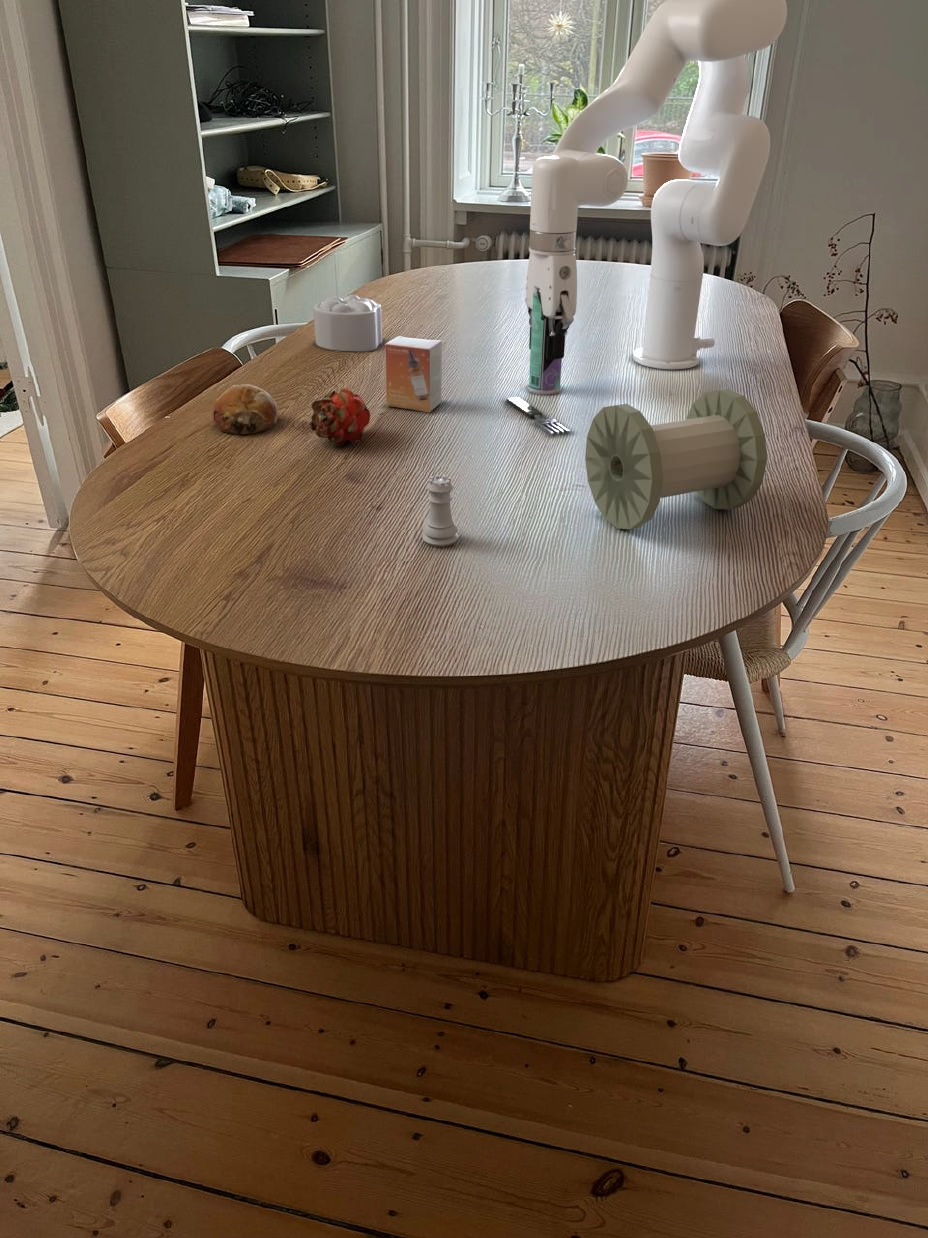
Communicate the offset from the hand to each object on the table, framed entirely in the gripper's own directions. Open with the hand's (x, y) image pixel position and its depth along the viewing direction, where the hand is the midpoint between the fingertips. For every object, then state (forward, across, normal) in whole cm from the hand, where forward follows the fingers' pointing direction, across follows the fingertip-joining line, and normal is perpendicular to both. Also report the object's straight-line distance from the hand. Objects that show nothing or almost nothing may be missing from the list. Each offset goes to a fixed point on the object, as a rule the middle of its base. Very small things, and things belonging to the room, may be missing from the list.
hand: (546, 352), depth 161 cm
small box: (+7, +1, +24) cm, 25 cm away
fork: (+6, -12, +8) cm, 16 cm away
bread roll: (+7, +2, +52) cm, 52 cm away
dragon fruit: (+7, -10, +40) cm, 42 cm away
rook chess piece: (+7, -47, +39) cm, 61 cm away
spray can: (+7, 0, 0) cm, 7 cm away
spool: (+7, -51, +9) cm, 52 cm away
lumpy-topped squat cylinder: (+7, +41, +23) cm, 47 cm away
